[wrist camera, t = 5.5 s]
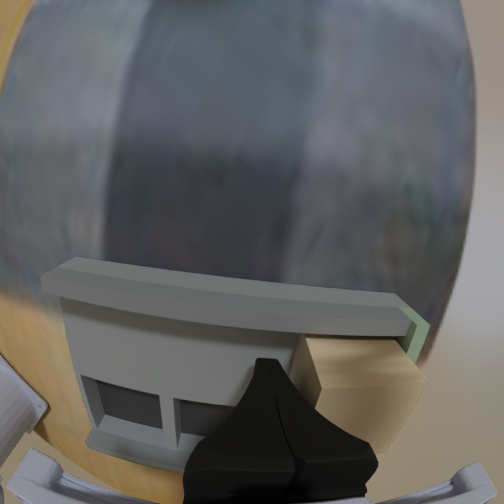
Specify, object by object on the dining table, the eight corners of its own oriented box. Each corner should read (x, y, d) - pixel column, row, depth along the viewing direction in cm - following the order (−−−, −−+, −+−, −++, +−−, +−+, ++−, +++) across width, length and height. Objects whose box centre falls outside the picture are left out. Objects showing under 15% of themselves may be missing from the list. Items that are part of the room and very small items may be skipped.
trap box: (394, 293, 15) (430, 325, 11) (335, 443, 18) (345, 482, 14) (76, 256, 14) (34, 279, 10) (103, 417, 17) (85, 452, 13)
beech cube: (385, 328, 13) (428, 381, 9) (360, 395, 14) (386, 452, 10) (301, 325, 13) (321, 388, 8) (284, 396, 14) (293, 461, 10)
